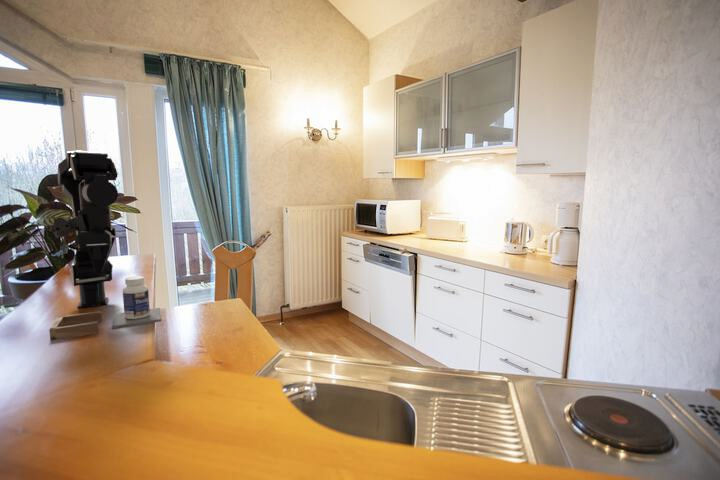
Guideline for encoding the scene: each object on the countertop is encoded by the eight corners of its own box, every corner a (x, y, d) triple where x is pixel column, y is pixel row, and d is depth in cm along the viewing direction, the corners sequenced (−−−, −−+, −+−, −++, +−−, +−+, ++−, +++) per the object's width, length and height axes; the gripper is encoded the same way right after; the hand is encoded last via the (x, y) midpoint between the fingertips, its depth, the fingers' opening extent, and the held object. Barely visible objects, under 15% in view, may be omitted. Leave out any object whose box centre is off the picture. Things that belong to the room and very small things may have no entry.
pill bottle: (138, 320, 87) (135, 280, 86) (119, 318, 89) (116, 279, 87) (155, 313, 93) (152, 275, 92) (136, 312, 94) (134, 274, 93)
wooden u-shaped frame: (59, 326, 85) (58, 316, 85) (102, 320, 89) (101, 311, 89) (50, 340, 77) (49, 329, 77) (97, 333, 81) (96, 322, 81)
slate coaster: (115, 316, 92) (115, 313, 92) (160, 309, 97) (159, 307, 97) (112, 328, 84) (111, 326, 84) (161, 321, 89) (161, 318, 89)
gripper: (60, 204, 91) (66, 265, 93) (41, 207, 75) (49, 281, 77) (113, 203, 96) (118, 261, 98) (107, 206, 80) (113, 275, 82)
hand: (101, 269), depth 89 cm, fingers open, 9 cm apart
